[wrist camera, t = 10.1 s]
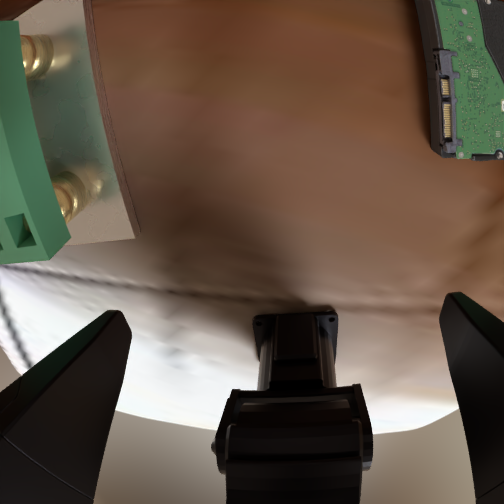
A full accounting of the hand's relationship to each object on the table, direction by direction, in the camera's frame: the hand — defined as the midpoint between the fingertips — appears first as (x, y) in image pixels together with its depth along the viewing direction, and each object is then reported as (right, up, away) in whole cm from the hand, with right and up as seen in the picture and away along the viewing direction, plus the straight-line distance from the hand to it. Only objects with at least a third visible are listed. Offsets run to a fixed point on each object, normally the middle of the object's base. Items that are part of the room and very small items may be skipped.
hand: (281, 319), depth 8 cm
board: (-16, +8, +6) cm, 19 cm away
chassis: (-15, +10, +9) cm, 21 cm away
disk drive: (+16, +13, +5) cm, 22 cm away
